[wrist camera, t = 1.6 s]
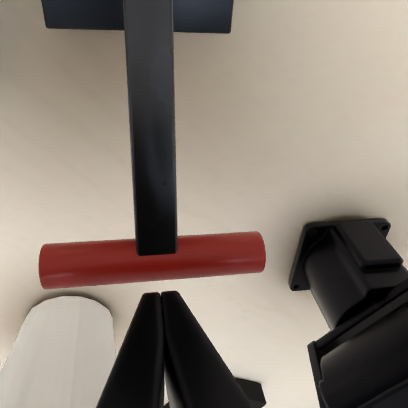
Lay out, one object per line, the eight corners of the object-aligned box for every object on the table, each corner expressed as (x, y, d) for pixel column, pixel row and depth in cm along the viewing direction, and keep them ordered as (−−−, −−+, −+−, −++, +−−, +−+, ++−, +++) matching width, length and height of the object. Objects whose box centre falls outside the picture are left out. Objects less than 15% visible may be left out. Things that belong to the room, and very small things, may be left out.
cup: (-12, 351, 29) (-91, 589, 18) (9, 260, 24) (-83, 512, 14) (116, 364, 32) (110, 569, 22) (156, 286, 28) (173, 502, 17)
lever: (247, 254, 12) (272, 290, 10) (55, 267, 11) (35, 310, 9) (263, -205, 9) (305, -308, 7) (-5, -243, 8) (-59, -375, 6)
